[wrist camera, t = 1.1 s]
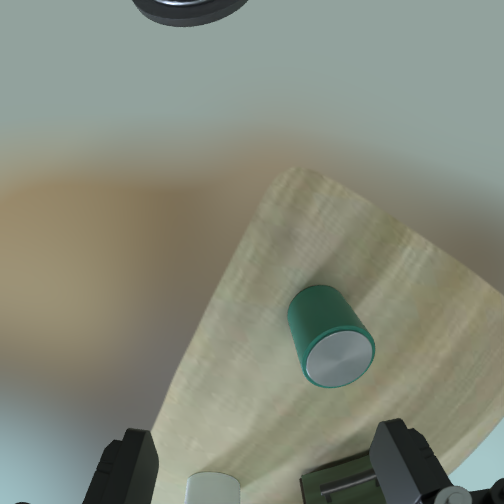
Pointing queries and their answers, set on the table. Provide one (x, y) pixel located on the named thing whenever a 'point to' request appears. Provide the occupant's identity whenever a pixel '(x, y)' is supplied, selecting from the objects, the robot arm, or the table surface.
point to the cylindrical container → (212, 489)
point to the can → (329, 337)
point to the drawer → (344, 484)
